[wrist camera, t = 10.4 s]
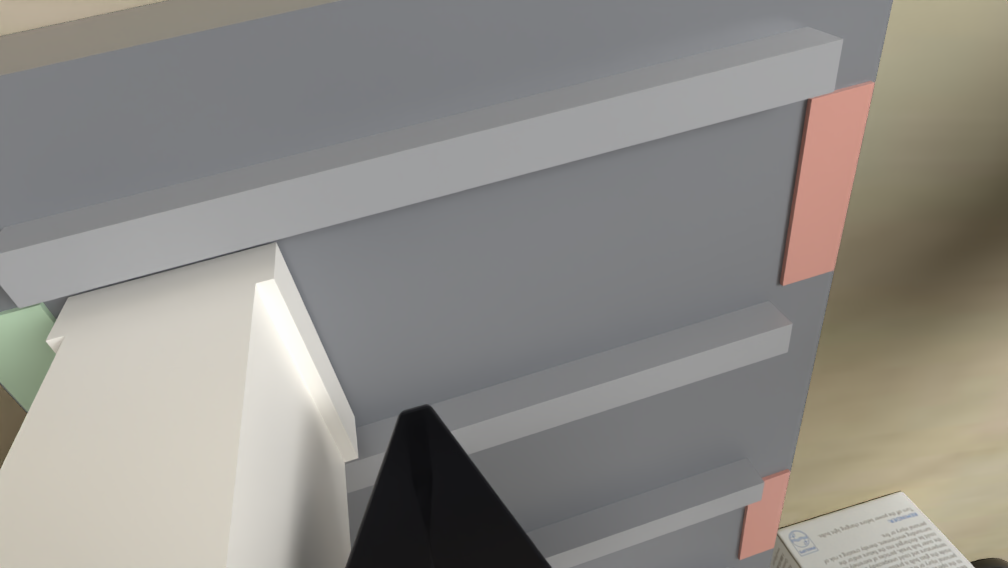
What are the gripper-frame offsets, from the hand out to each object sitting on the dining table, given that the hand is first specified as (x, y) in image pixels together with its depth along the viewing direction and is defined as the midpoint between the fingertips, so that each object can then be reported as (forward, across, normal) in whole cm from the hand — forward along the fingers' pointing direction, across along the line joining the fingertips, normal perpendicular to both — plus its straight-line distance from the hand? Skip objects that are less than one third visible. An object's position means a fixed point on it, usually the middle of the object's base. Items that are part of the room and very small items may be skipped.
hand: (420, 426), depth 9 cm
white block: (+3, +3, 0) cm, 4 cm away
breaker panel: (+6, -1, +6) cm, 8 cm away
